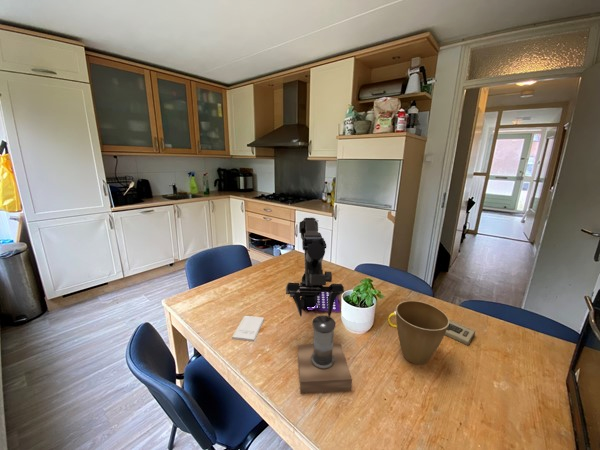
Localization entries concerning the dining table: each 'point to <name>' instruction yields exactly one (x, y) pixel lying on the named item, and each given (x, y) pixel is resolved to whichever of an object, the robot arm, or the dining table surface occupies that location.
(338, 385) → the stand
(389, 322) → the watch
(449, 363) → the dining table surface
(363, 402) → the dining table surface
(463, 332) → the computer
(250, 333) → the external hard drive
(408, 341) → the brown hollow tapered container
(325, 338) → the cylinder
